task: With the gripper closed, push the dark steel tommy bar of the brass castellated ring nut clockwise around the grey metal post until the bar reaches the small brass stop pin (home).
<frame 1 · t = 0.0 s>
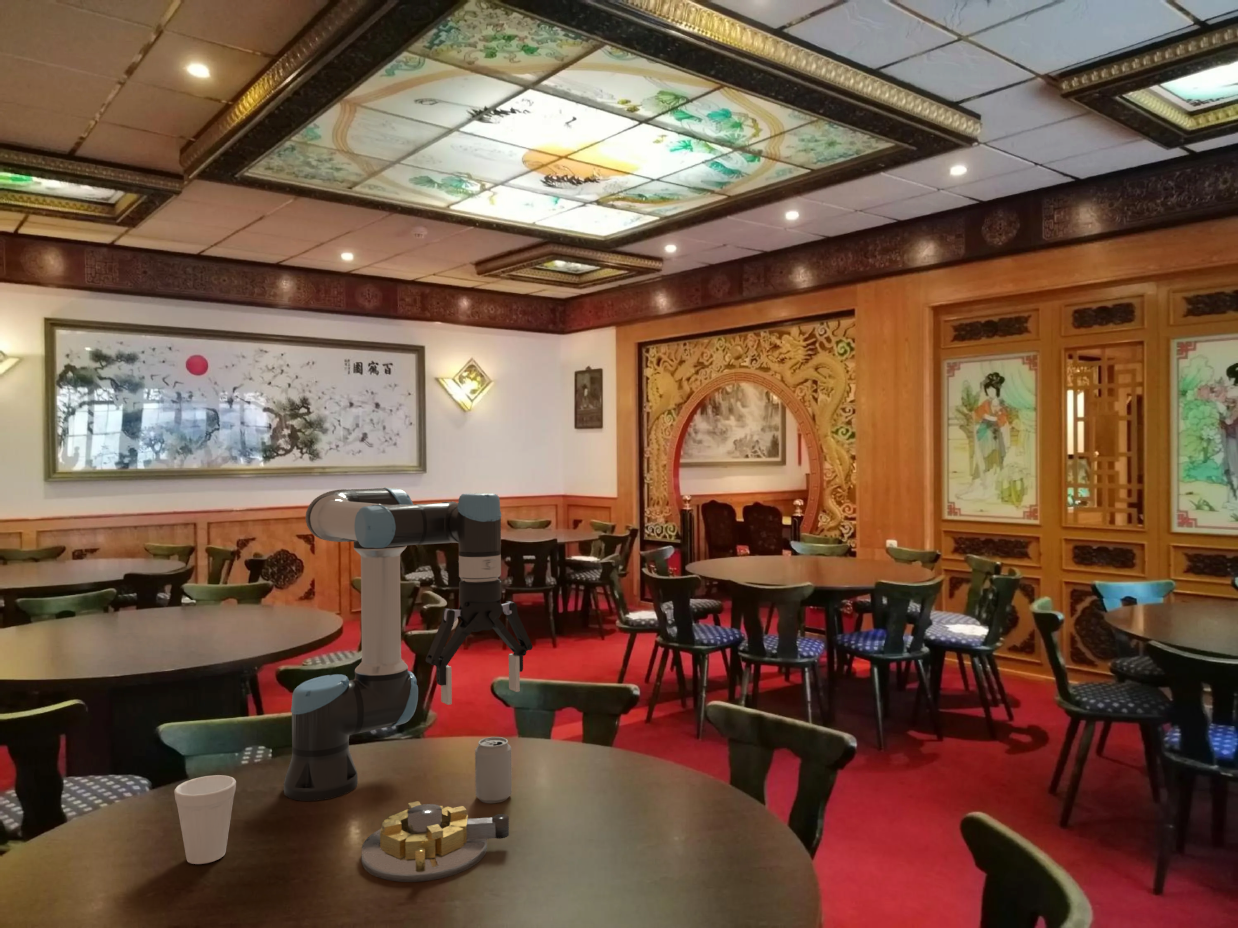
hand: (481, 696, 155), 28 cm above the table, fingers open, 13 cm apart
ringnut: (446, 826, 155), point 4 cm above the table, hinge at 75.0°
can: (493, 798, 180), on the table
cup: (206, 859, 153), on the table
cap base: (425, 851, 155), on the table
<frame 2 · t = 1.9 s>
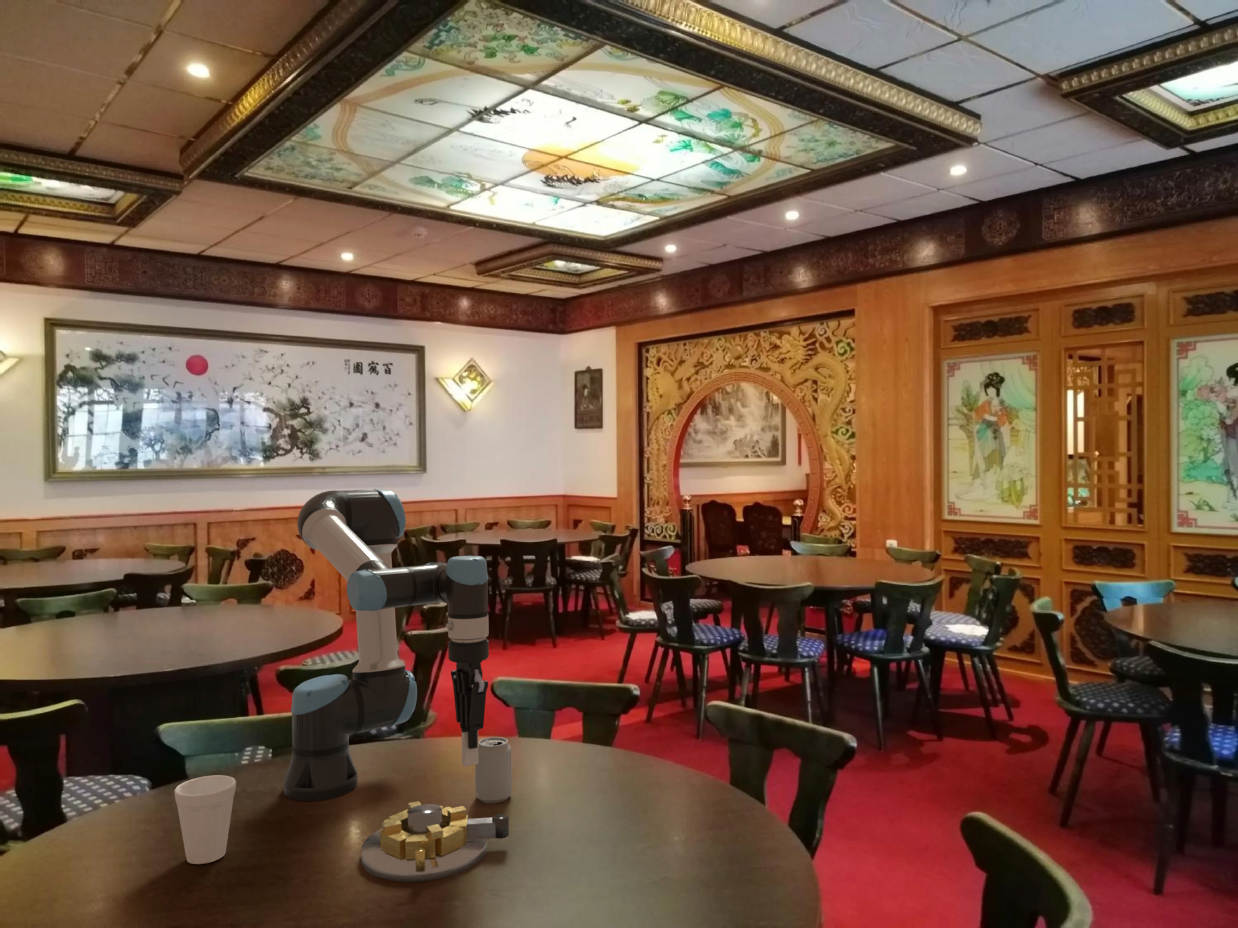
hand: (470, 763, 162), 13 cm above the table, fingers closed
nothing on the table moved.
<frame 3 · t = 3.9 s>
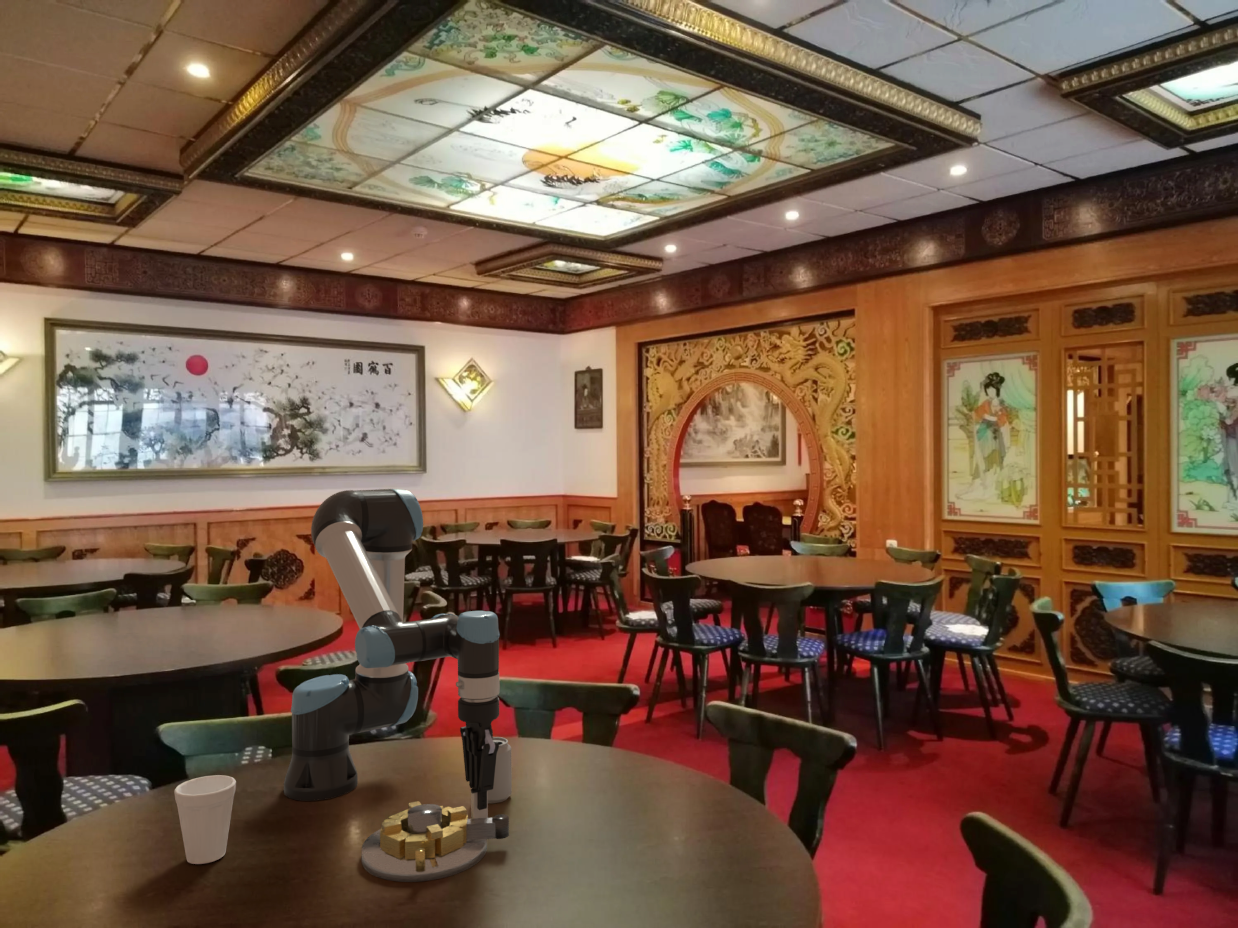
hand: (479, 824, 158), 3 cm above the table, fingers closed
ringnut: (446, 826, 155), point 4 cm above the table, hinge at 74.5°, touching gripper
everything else where it was.
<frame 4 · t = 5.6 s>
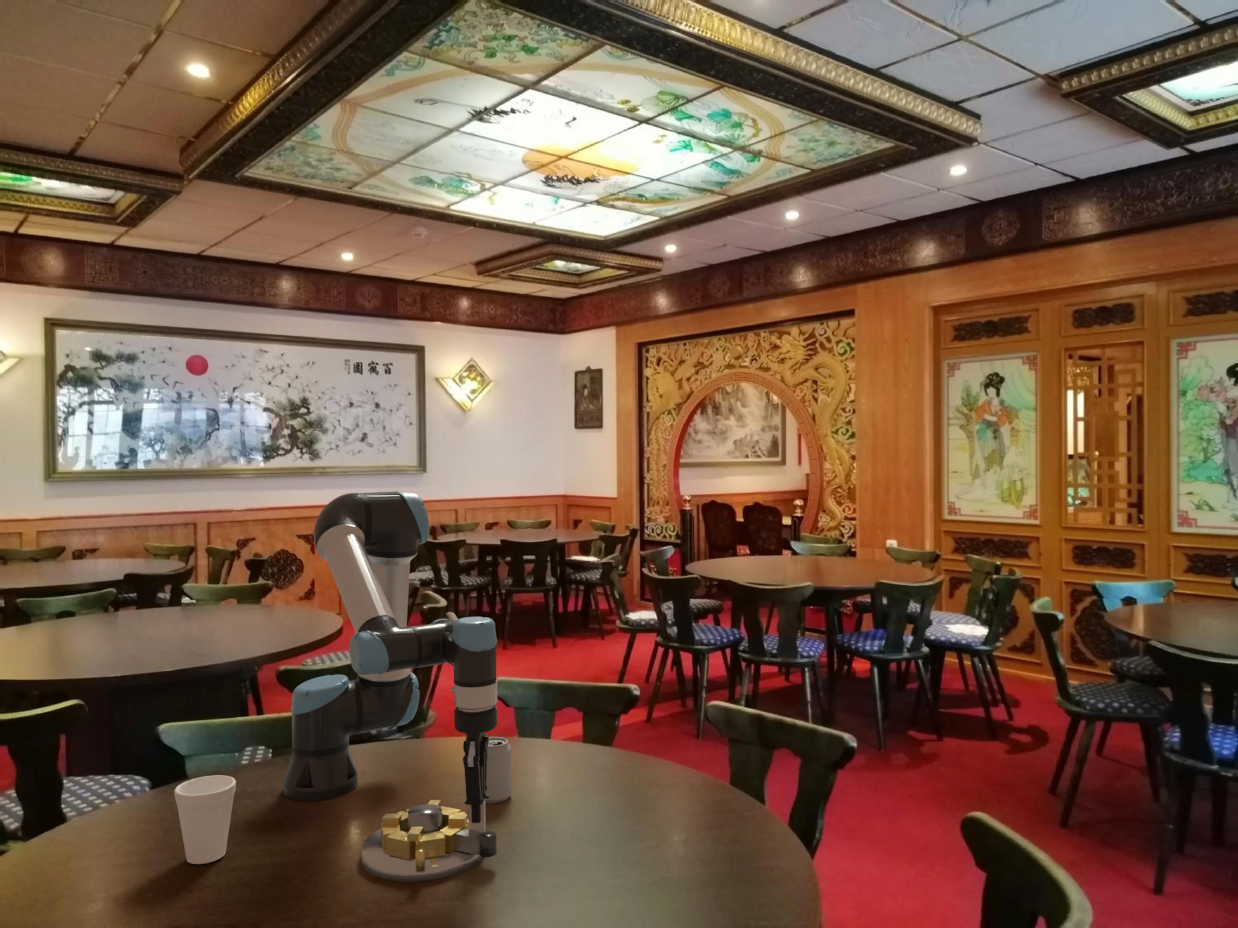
hand: (477, 837, 153), 3 cm above the table, fingers closed
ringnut: (442, 831, 153), point 4 cm above the table, hinge at 43.0°, touching gripper
everything else where it was.
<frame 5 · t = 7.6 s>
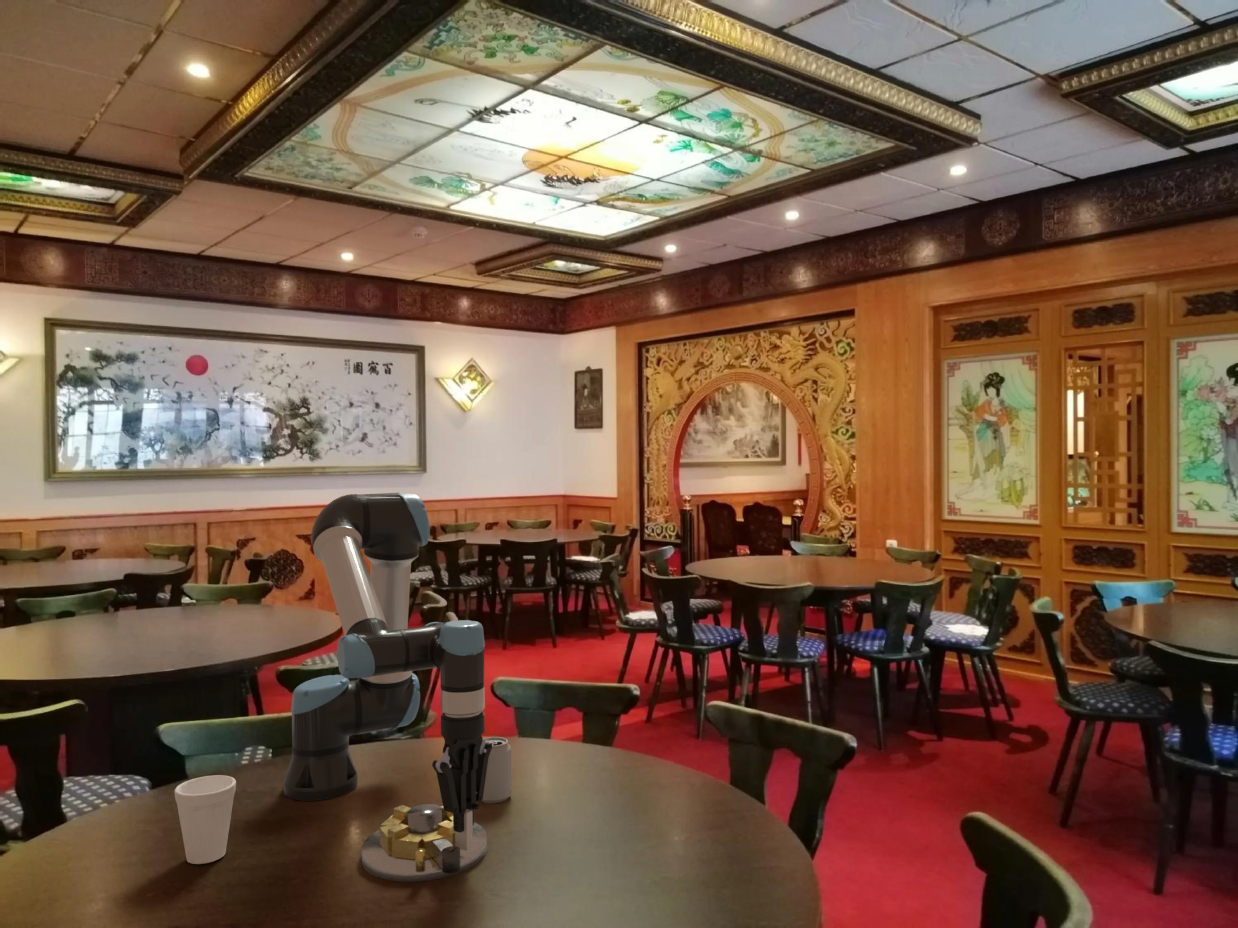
hand: (464, 847, 149), 3 cm above the table, fingers closed
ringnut: (431, 835, 152), point 4 cm above the table, hinge at 9.3°
everything else where it was.
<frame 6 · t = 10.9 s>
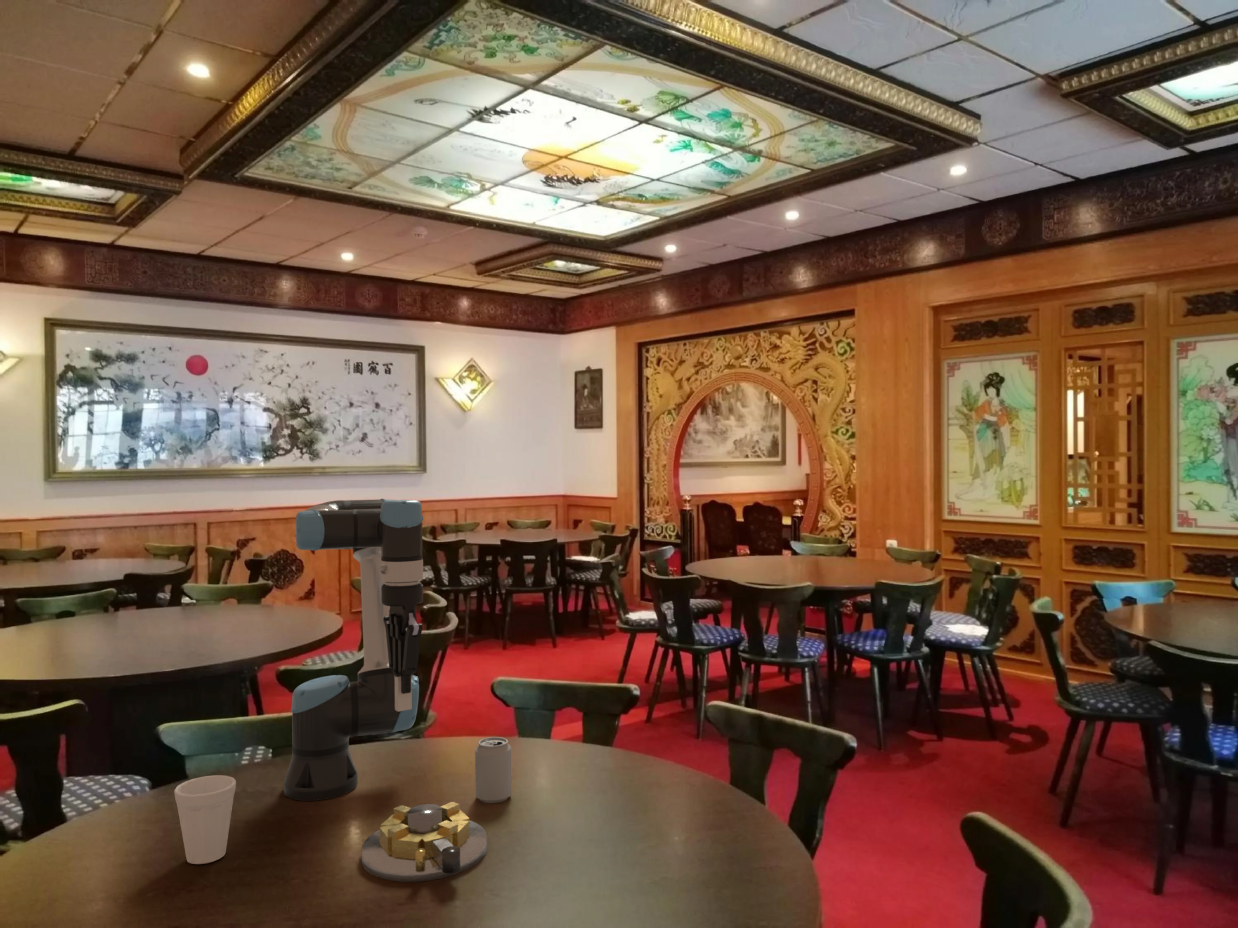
hand: (403, 709, 160), 24 cm above the table, fingers closed
nothing on the table moved.
at the end: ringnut at +9° (first picture: +75°) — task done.
